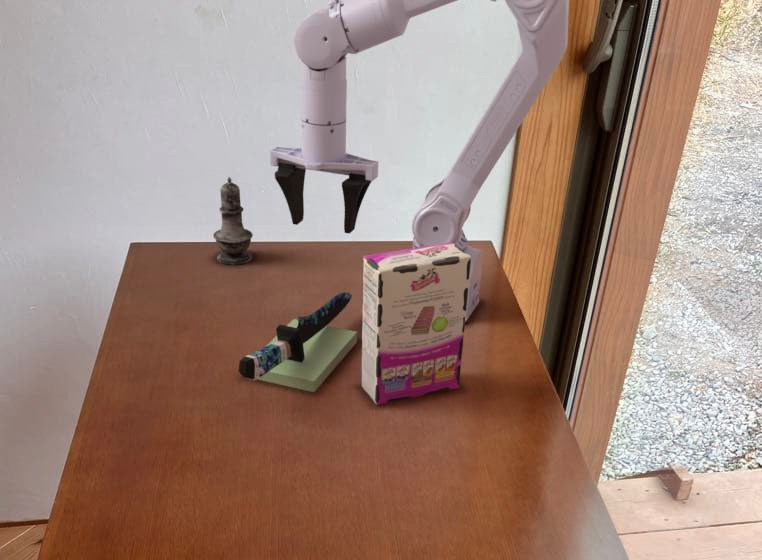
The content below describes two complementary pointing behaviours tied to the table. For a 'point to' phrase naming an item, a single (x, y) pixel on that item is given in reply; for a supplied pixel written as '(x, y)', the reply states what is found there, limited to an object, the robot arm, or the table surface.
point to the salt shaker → (232, 228)
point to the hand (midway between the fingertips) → (323, 226)
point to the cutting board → (313, 359)
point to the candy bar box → (413, 321)
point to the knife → (291, 340)
